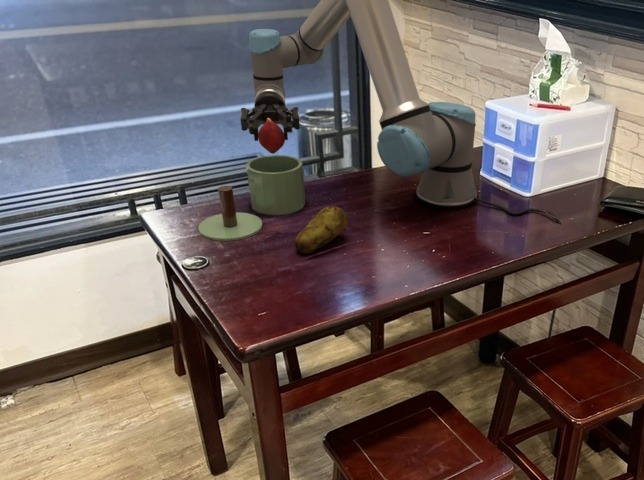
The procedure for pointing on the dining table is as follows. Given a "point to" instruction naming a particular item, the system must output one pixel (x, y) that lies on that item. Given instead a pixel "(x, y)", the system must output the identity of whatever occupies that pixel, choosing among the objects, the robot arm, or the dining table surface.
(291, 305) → the dining table surface
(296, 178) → the pot
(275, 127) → the onion
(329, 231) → the potato
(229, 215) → the lid
